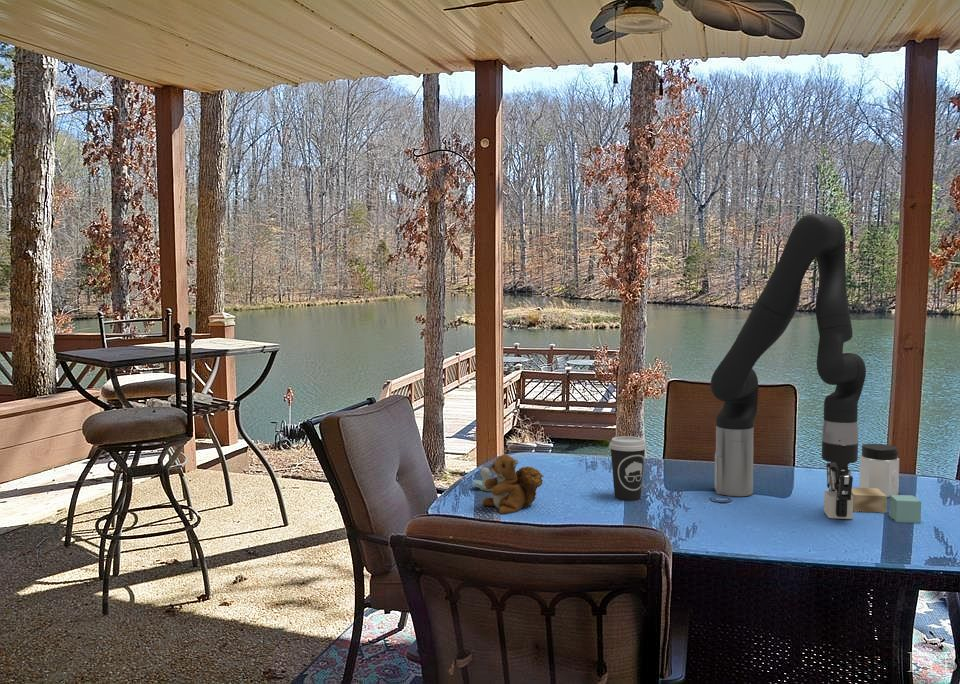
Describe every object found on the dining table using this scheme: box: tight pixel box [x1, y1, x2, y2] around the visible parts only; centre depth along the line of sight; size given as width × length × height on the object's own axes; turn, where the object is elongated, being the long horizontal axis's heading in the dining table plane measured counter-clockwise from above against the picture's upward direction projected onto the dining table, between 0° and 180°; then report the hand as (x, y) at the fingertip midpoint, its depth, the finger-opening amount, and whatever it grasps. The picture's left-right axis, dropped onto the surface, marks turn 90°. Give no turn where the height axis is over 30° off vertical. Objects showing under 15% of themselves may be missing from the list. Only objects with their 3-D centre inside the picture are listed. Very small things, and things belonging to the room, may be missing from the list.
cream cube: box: [823, 490, 854, 520], centre depth 178 cm, size 5×5×5 cm
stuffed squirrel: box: [482, 453, 545, 515], centre depth 189 cm, size 10×14×13 cm
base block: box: [851, 487, 888, 514], centre depth 184 cm, size 7×7×4 cm
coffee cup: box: [608, 435, 648, 502], centre depth 196 cm, size 10×10×15 cm
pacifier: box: [472, 466, 492, 492], centre depth 206 cm, size 7×6×6 cm
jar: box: [858, 443, 900, 498], centre depth 197 cm, size 9×8×12 cm
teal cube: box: [888, 494, 922, 524], centre depth 175 cm, size 5×5×5 cm
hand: (838, 512), depth 178 cm, fingers closed on cream cube, 5 cm apart
